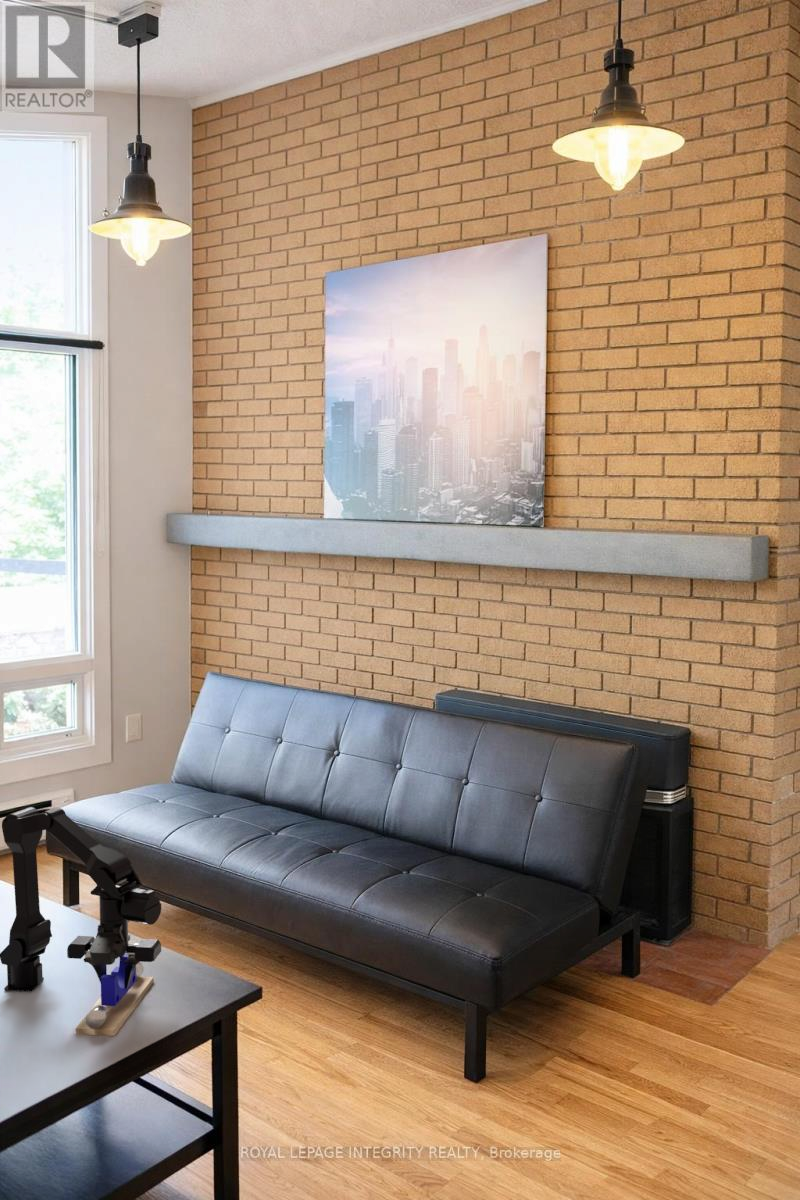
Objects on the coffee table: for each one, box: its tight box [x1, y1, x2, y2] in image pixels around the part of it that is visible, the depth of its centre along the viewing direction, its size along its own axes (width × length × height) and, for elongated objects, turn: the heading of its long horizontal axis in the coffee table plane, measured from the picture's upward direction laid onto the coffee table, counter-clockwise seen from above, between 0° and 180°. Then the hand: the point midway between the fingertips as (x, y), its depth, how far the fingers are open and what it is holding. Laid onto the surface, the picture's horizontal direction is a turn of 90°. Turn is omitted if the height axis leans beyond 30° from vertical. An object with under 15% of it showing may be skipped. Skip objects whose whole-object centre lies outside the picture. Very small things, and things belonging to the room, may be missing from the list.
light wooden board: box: [74, 975, 155, 1037], centre depth 239 cm, size 8×25×1 cm, turn 174°
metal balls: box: [85, 962, 145, 1029], centre depth 239 cm, size 4×25×4 cm, turn 174°
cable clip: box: [100, 953, 136, 1006], centre depth 239 cm, size 12×4×6 cm, turn 172°
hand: (115, 987), depth 239 cm, fingers closed on cable clip, 4 cm apart
